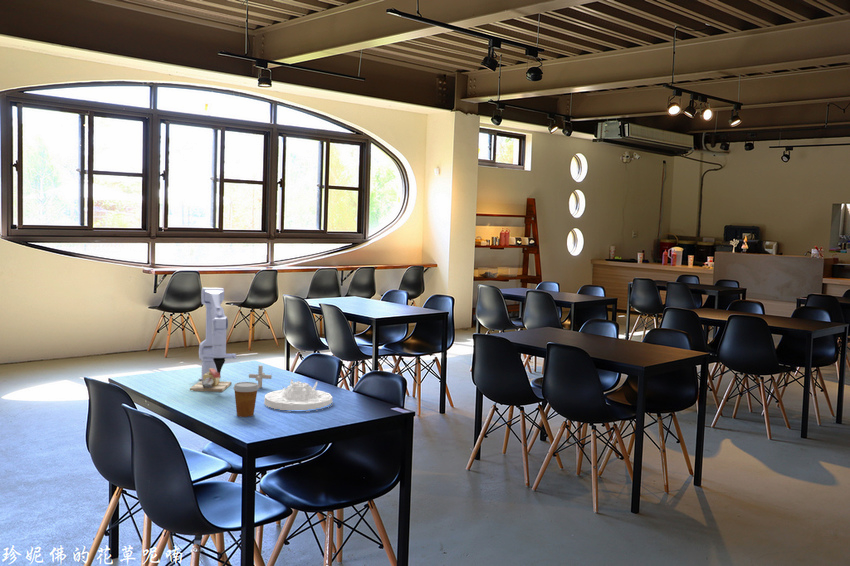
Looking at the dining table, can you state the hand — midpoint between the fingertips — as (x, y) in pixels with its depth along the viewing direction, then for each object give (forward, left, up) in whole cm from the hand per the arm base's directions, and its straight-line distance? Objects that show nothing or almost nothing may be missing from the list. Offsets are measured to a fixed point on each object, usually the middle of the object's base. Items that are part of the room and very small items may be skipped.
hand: (218, 375), depth 311 cm
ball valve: (-6, -5, -7) cm, 11 cm away
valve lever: (-1, -2, 0) cm, 2 cm away
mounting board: (-6, -5, -7) cm, 11 cm away
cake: (+16, +38, -8) cm, 42 cm away
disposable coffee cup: (+39, +21, -7) cm, 45 cm away
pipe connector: (-10, +16, -7) cm, 21 cm away
